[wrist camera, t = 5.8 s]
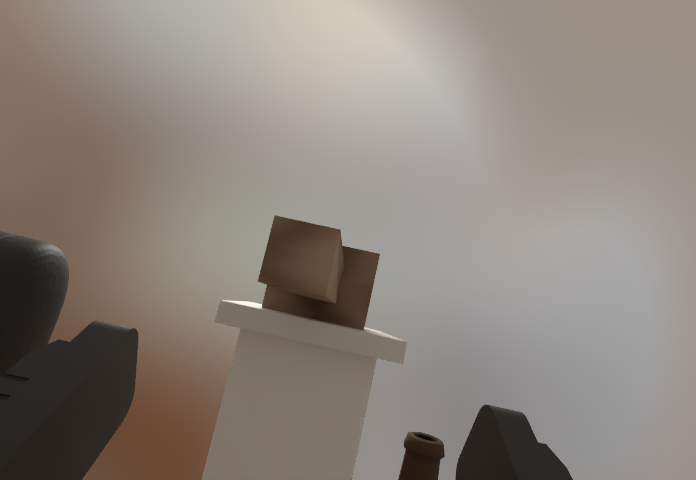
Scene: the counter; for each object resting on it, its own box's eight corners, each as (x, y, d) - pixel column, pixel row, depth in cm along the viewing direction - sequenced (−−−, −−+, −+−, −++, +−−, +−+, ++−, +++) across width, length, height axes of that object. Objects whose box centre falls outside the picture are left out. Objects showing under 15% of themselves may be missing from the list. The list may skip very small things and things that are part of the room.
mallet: (193, 302, 19) (229, 172, 20) (278, 308, 42) (293, 247, 43) (374, 343, 19) (402, 209, 20) (360, 327, 41) (374, 265, 42)
